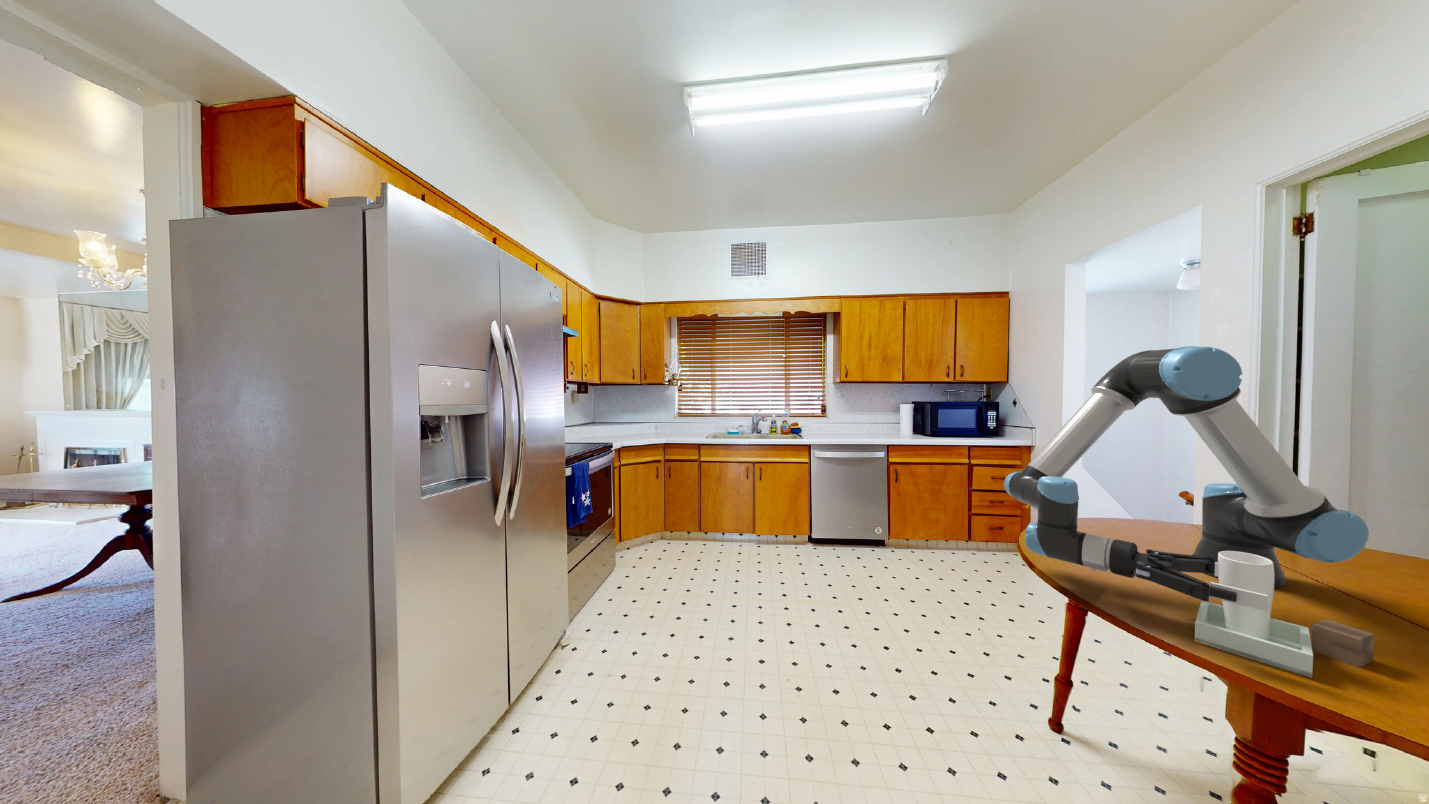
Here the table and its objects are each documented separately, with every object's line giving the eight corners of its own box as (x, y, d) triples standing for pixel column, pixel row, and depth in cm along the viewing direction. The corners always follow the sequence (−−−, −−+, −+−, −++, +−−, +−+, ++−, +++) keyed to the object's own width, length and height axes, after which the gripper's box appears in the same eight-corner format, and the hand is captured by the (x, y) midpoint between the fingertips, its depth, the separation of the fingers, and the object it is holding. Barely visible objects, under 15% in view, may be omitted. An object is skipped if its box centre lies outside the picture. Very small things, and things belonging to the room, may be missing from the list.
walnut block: (1324, 645, 79) (1326, 619, 79) (1372, 661, 74) (1374, 634, 74) (1311, 650, 78) (1312, 624, 77) (1358, 668, 73) (1360, 639, 73)
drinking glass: (1282, 649, 77) (1281, 567, 76) (1225, 637, 81) (1223, 560, 80) (1267, 630, 82) (1265, 554, 81) (1214, 620, 86) (1212, 548, 86)
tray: (1201, 617, 89) (1201, 600, 89) (1307, 647, 78) (1308, 627, 78) (1194, 641, 81) (1195, 621, 81) (1312, 678, 71) (1313, 656, 70)
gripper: (1121, 557, 102) (1265, 590, 86) (1097, 589, 87) (1267, 636, 70) (1122, 526, 102) (1267, 553, 85) (1098, 553, 87) (1268, 592, 70)
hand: (1267, 591), depth 78 cm, fingers open, 13 cm apart
